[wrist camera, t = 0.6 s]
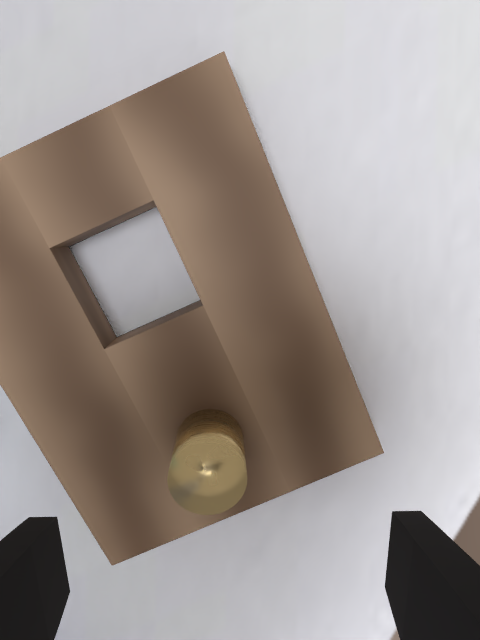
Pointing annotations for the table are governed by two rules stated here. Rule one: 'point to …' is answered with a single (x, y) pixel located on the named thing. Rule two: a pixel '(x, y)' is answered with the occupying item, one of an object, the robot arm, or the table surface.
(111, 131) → the pin board
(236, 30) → the table surface
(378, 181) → the table surface
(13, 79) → the table surface
